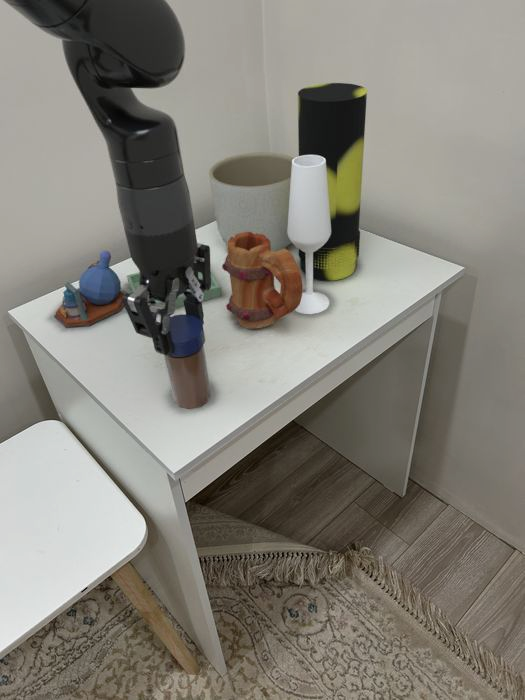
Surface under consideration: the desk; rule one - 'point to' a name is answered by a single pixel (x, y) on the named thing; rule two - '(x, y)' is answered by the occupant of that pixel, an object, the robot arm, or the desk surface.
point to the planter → (253, 196)
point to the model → (92, 296)
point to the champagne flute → (309, 220)
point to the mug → (261, 280)
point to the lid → (186, 334)
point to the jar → (189, 379)
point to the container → (335, 168)
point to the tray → (208, 294)
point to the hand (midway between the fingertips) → (181, 338)
